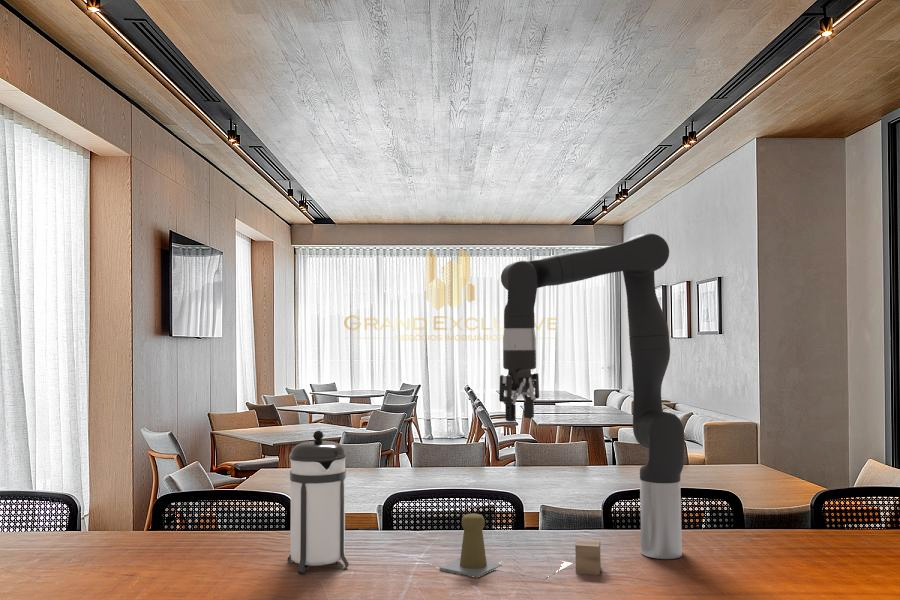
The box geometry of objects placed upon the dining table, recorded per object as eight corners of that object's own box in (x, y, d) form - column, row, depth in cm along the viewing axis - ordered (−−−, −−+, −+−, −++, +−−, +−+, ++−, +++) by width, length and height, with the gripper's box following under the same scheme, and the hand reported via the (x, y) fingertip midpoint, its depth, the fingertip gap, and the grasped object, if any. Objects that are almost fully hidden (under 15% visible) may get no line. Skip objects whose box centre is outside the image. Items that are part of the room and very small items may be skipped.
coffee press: (366, 559, 175) (366, 428, 177) (326, 579, 161) (327, 436, 163) (303, 551, 183) (304, 424, 184) (260, 569, 168) (261, 432, 170)
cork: (485, 569, 166) (485, 518, 166) (457, 568, 166) (457, 517, 167) (488, 561, 171) (488, 511, 172) (461, 560, 172) (461, 510, 173)
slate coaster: (464, 559, 175) (464, 556, 175) (502, 566, 170) (502, 563, 170) (439, 570, 167) (439, 567, 167) (478, 578, 161) (478, 575, 161)
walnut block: (577, 566, 170) (577, 539, 170) (600, 568, 168) (600, 540, 169) (575, 573, 165) (575, 545, 165) (599, 575, 164) (598, 546, 164)
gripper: (518, 348, 167) (519, 423, 166) (548, 348, 179) (549, 417, 178) (489, 348, 171) (489, 421, 171) (520, 348, 183) (520, 416, 182)
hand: (520, 419), depth 174 cm, fingers open, 8 cm apart
